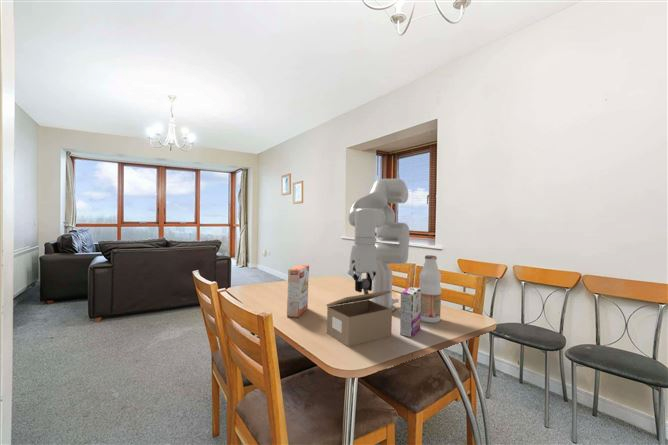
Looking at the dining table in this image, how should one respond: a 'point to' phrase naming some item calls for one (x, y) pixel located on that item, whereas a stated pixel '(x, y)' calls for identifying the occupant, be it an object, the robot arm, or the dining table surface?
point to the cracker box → (297, 290)
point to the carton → (359, 322)
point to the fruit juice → (430, 290)
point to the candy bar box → (410, 311)
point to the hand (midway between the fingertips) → (363, 290)
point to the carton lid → (360, 297)
